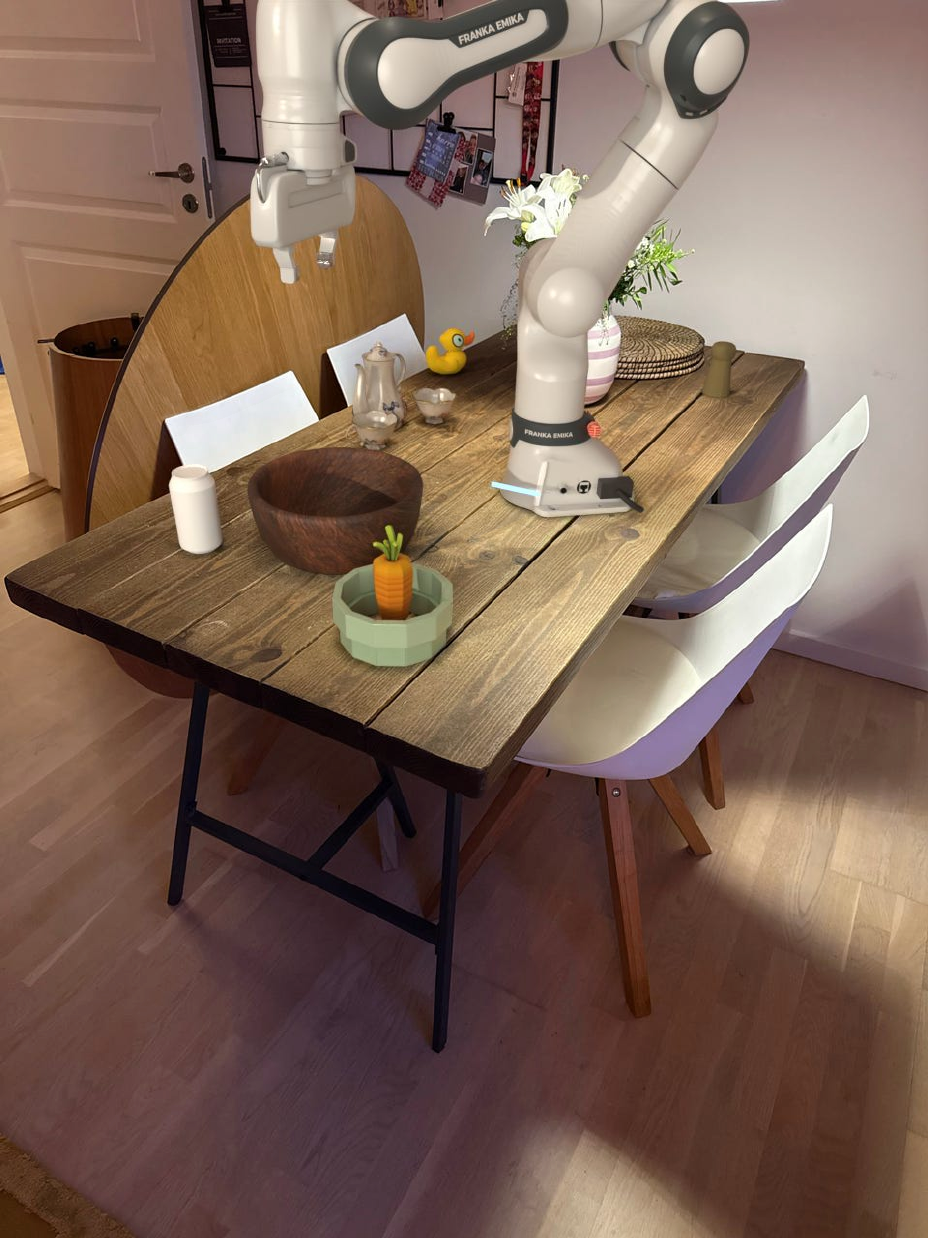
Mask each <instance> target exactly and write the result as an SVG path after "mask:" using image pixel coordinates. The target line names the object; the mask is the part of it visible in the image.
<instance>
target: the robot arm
mask: <svg viewBox="0 0 928 1238" xmlns="http://www.w3.org/2000/svg"><path fill="white" fill-rule="evenodd" d="M255 15H256V17H255V45H256V46H255V48H256V65H257V76H258V79H259V83H260V85H261V90H262V99H263V100H262V102H263V103H262V108H261V113H260V119H261V133H262V144H263V145H262V146H263V147H262V148H263V156H262V157H261V158H260V159H259V164H258V166H257V168H256V169H255V172H254V176H253V178H252V180H251V185H250V202H249V203H250V205H249V206H250V232H251V237H252V240H253V241H254V243H255V245H256V246H257V247H261V248H268V249H269V248H270V249H272V254H273V256H274V258H275V261H276V263H277V265H278V267H279V270H280V271H279V272H280V280H281V282H282V283H284V284H290V285H293V284H295V283H297V282H299V281H300V279H301V276H300V266H298V265H296V263H295V259H294V254H295V244H298V243H301V242H304V241H306V240H309V239H312V238H314V237H317V236H318V237H319V238H320V244H319V251H318V252H316V260H317V261H316V263H317V264H316V265H317V267H318V268H319V269H325V270H326V269H327V270H328V269H331V268H333V267H334V266H335V264H336V263H335V252H336V248H337V245H338V240H339V229H341V228H343V227H346V226H350V225H351V224H352V222H353V220H354V216H355V212H356V173H355V168H354V165H353V164H354V163H356V162H357V160H358V146H357V143H356V142H354V141H353V140H351V139H350V138H348V137H347V136H346V135H345V134H344V133H343V132H341V129H340V128H341V127H340V126H341V125H340V124H341V123H340V117H341V116H340V115H341V114H342V112H343V111H353V112H354V113H356V114H358V115H360V116H362V117H364V118H366V119H367V120H369V121H370V122H371V123H373V124H374V125H375V126H378V127H380V128H383V129H385V130H389V131H403V130H407V129H411V128H413V127H415V126H418V125H419V124H420V123H422V122H423V121H426V119H427V118H428V117H429V116H430V115H432V114H433V112H434V111H435V110H436V109H437V108H439V106H440V105H441V104H442V103H443V102H444V100H446V99H447V98H448V97H449V96H450V95H451V94H453V93H454V92H455V91H457V90H458V89H460V88H463V87H464V86H466V85H469V84H470V83H473V82H476V81H478V80H481V79H483V78H486V77H488V76H490V75H493V74H495V73H498V72H500V71H503V70H506V69H508V68H510V67H512V66H515V65H519V64H521V63H528V62H534V63H535V62H536V63H538V62H549V61H557V60H562V59H565V58H566V59H567V58H569V57H574V56H577V55H580V54H584V53H586V52H589V51H592V50H594V49H597V48H599V47H602V46H605V45H607V44H608V47H609V49H610V51H611V53H612V55H613V56H614V59H615V60H616V61H617V62H618V64H619V65H620V66H621V67H622V68H623V69H625V70H626V71H629V72H631V73H632V75H634V76H635V77H637V78H638V79H639V80H640V81H642V83H644V84H645V86H644V93H643V97H642V99H641V102H640V105H639V107H638V109H637V111H636V113H635V114H634V115H633V117H631V119H630V120H629V122H628V123H627V124H626V125H625V127H624V128H623V129H622V131H621V132H620V134H619V135H618V136H617V138H616V139H615V141H613V143H612V145H611V146H610V148H609V149H608V150H607V152H606V153H605V155H604V156H603V158H602V159H601V161H599V163H598V164H597V166H596V168H594V171H593V172H592V173H591V174H590V176H589V177H588V179H587V180H586V181H585V183H584V185H583V186H582V188H581V189H580V191H579V193H578V195H577V198H576V200H575V202H574V203H573V207H572V208H571V210H570V212H569V214H568V216H567V218H566V220H565V221H564V223H563V225H562V227H561V229H560V231H559V232H558V234H557V236H551V237H546V238H543V239H541V240H538V241H537V242H535V243H534V244H533V245H531V246H530V247H529V248H528V249H527V251H526V252H525V253H524V254H523V255H524V256H523V257H522V259H521V262H520V265H519V269H518V279H517V280H518V281H517V285H518V286H517V321H516V322H517V324H516V325H517V327H516V329H517V333H516V335H517V340H516V341H517V342H516V343H517V350H516V351H517V361H516V363H517V364H516V378H515V379H516V380H515V395H514V406H513V407H512V409H511V415H510V419H509V432H508V433H509V444H510V448H509V453H508V459H507V463H506V468H505V472H504V473H503V474H504V475H503V478H502V481H501V482H496V481H491V487H493V488H497V489H499V493H500V495H501V496H502V497H503V498H504V499H505V500H506V501H508V502H510V503H511V504H513V505H516V506H518V507H521V508H524V509H527V510H530V511H532V513H534V514H537V516H540V517H542V518H557V517H571V516H586V515H598V514H599V515H600V514H615V513H626V512H629V511H631V510H634V511H636V512H637V513H639V514H642V513H643V512H644V511H645V508H644V507H642V505H640V504H638V503H636V502H635V491H634V485H635V481H634V480H633V479H632V477H631V476H630V475H624V474H623V473H624V472H623V468H622V467H623V466H622V464H621V461H620V459H619V457H618V455H617V454H616V453H615V451H613V449H612V448H610V447H609V446H608V445H606V444H605V443H604V442H603V441H602V440H600V438H598V437H599V436H600V435H601V433H602V428H601V426H600V423H598V422H597V421H596V418H595V417H594V416H593V415H592V413H591V412H590V411H589V410H588V409H587V410H585V402H586V395H587V394H586V393H587V384H588V376H589V375H588V373H589V365H590V364H589V340H588V339H589V336H588V335H589V334H588V333H589V331H590V330H592V329H593V328H594V327H595V326H596V324H598V322H599V320H600V319H601V317H602V314H603V312H604V309H605V306H606V304H607V301H608V299H609V297H610V296H611V295H612V293H613V291H614V289H615V288H616V286H617V284H618V282H619V281H620V279H621V277H622V275H624V272H625V270H626V268H627V266H628V264H629V263H630V261H631V259H632V257H633V255H634V253H635V252H636V250H637V248H638V247H639V245H640V243H641V242H642V241H643V239H644V238H645V236H646V235H647V233H648V232H649V231H650V229H651V228H652V227H653V226H654V224H655V223H656V221H657V220H658V219H659V217H660V216H661V215H662V214H663V212H664V211H665V209H666V208H667V207H668V205H669V204H670V203H671V201H672V200H673V199H674V197H675V196H676V195H677V193H678V191H680V189H681V188H682V187H683V185H684V184H685V182H686V181H687V180H688V178H689V177H690V175H691V174H692V172H693V171H694V169H695V168H696V166H697V164H698V163H699V161H700V160H701V158H702V156H703V155H704V153H705V151H706V149H707V147H708V146H709V144H710V142H711V140H712V138H713V136H714V134H715V132H716V130H717V128H718V124H719V110H718V108H720V107H721V106H722V104H724V103H725V102H726V100H727V98H728V96H729V94H730V93H731V92H732V91H733V89H734V88H735V87H736V86H737V83H738V81H739V80H740V77H741V75H742V73H743V72H744V69H745V66H746V64H747V61H748V57H749V51H750V41H751V40H750V33H749V29H748V26H747V25H746V22H745V21H744V19H743V17H741V15H740V14H739V13H738V12H737V11H736V10H735V9H734V8H733V7H732V6H731V5H729V4H728V3H726V2H723V1H720V0H491V1H488V2H486V3H483V4H480V5H477V6H475V7H473V8H470V9H466V10H464V11H462V12H459V13H456V14H454V15H451V16H448V17H446V18H443V19H441V20H435V21H423V20H418V19H414V18H409V17H405V16H404V17H403V16H387V17H383V18H379V17H376V16H375V15H373V14H371V13H369V12H367V11H365V9H362V8H360V7H359V6H357V5H356V4H354V3H353V2H351V1H349V0H257V6H256V13H255Z"/></svg>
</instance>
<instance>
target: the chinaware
mask: <svg viewBox="0 0 928 1238" xmlns="http://www.w3.org/2000/svg"><path fill="white" fill-rule="evenodd" d="M373 346H374V347H371V348H370V350H369V351H368V352H364V353H362V354H361V356H360V357H361V358H362V361H363V365H362V364H361V363H355V364H354V367H355V368H356V370H357V376H356V382H355V388H354V393H353V397H352V408H351V415H352V419H351V421H350V422H351V425H352V426H350V427H349V428H347V430H346V431H345V438H346V441H347V442H348V443H349V444H357V443H358V442H360V443H359V445H360V447H364V446H365V447H366V449H370V450H376V451H381V450H382V449H384V448H386V445H385V443H387V442H388V441H389V440H390V439H391V437H392V436H393V434H394V432H395V431H397V430H399V429H401V428H402V427H403V423H402V422H403V420H404V419H405V417H406V415H407V414H408V412H409V406H408V404H407V403H406V401H405V400H404V398H403V397H402V395H401V393H402V390H403V388H402V386H401V385H400V384H401V383H402V382H403V380H404V378H405V375H406V360H405V358H404V356H403V355H402V354H401V353H399V352H398V353H397V352H391V351H388V349H386V348H385V347H384V346H383V344H382V343H381V341H380V340H377V341H376V342H375V344H374V345H373ZM396 358H398V359H399V361H400V374H399V377H398V379H397V381H396V380H395V374H394V372H395V369H394V366H395V362H396V361H395V359H396ZM411 397H412V398H413V399H414V400H415V404H416V407H417V410H418V411H419V413H420V414H421V415H422V416H423V417H425V423H428V424H433V425H438V424H441V423H443V418H445V417H446V416H447V415H448V414H449V413H450V411H451V409H452V406H453V403H454V401H455V400H456V399H457V397H458V394H457V393H453V392H452V391H450V390H449V389H448V388H446V387H439V388H436V389H432V388H430V387H422V388H420V389H418V390H417V392H413V393H412V394H411ZM351 430H352V431H356V434H357V436H358V438H359V439H356V440H355V441H351V440H350V439H349V432H350V431H351Z"/></svg>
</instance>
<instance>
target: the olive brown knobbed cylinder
mask: <svg viewBox="0 0 928 1238" xmlns="http://www.w3.org/2000/svg"><path fill="white" fill-rule="evenodd" d="M736 354H737V346H736V345H735V344H734V343H733V342H730V341H721V340H720V341H716V342H714V343H713V344H712V346H711V348H710V355H711V357H712V358H711V361H710V364H709V367H708V370H707V373H706V377H705V379H704V383H703V386H702V389H701V393H702V395H705V396H707V397H711V398H727V397H729V396H730V391H731V376H732V375H731V374H732V362H733V361H732V360H733V359H734V358H735V356H736Z"/></svg>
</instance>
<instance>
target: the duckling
mask: <svg viewBox="0 0 928 1238" xmlns="http://www.w3.org/2000/svg"><path fill="white" fill-rule="evenodd" d="M475 337H476V335H475V332H474V331H471V332H470V333H469V334H468V335H466V334H465V332H464V331H463V330H462V329H460V328H458V327H450V328H448V329H446V330H444V332H442V334H440V336H439V342H440V344H441V346H442V347H443V349H444V350H445V351H446V352H445V353H443V354H440V353H439V350H438V348H437V346H436V345H430V346H429V347H427V349H426V352H425V362H426V365H427V367H428V369H430V371H432V372H434V373H436V374H439V375H455V374H458V373H459V372H460V371H461V370H462V369H463V368H464V367H465V365H466V363H467V355H466V353H465V352H464V351H463V348H464V347H468V346H470V345H471V344H473V342H474V340H475Z"/></svg>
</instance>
